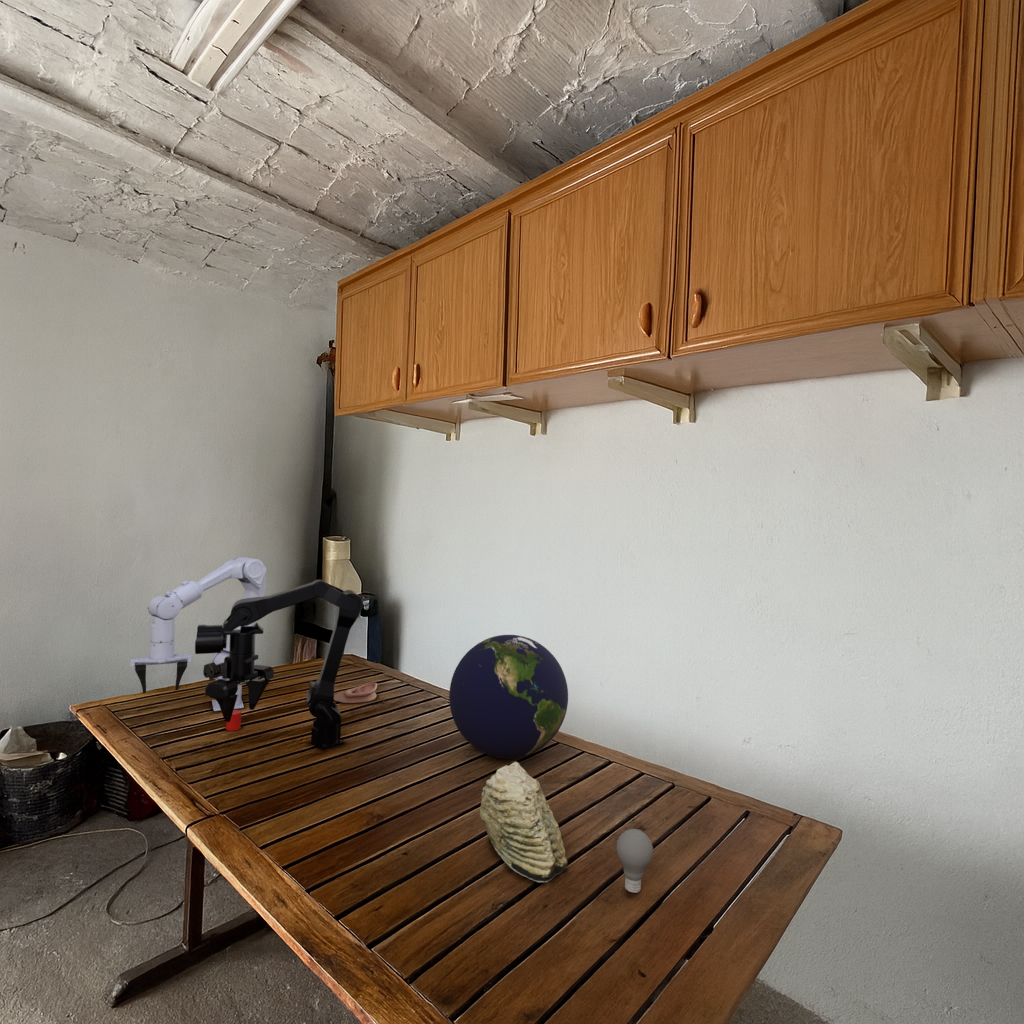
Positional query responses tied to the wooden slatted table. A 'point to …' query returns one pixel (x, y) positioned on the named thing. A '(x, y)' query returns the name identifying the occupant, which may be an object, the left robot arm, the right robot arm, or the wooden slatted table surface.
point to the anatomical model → (357, 694)
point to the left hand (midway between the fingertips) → (160, 690)
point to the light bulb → (634, 857)
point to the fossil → (522, 824)
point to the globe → (508, 696)
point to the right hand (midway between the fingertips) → (239, 715)
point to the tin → (234, 721)
